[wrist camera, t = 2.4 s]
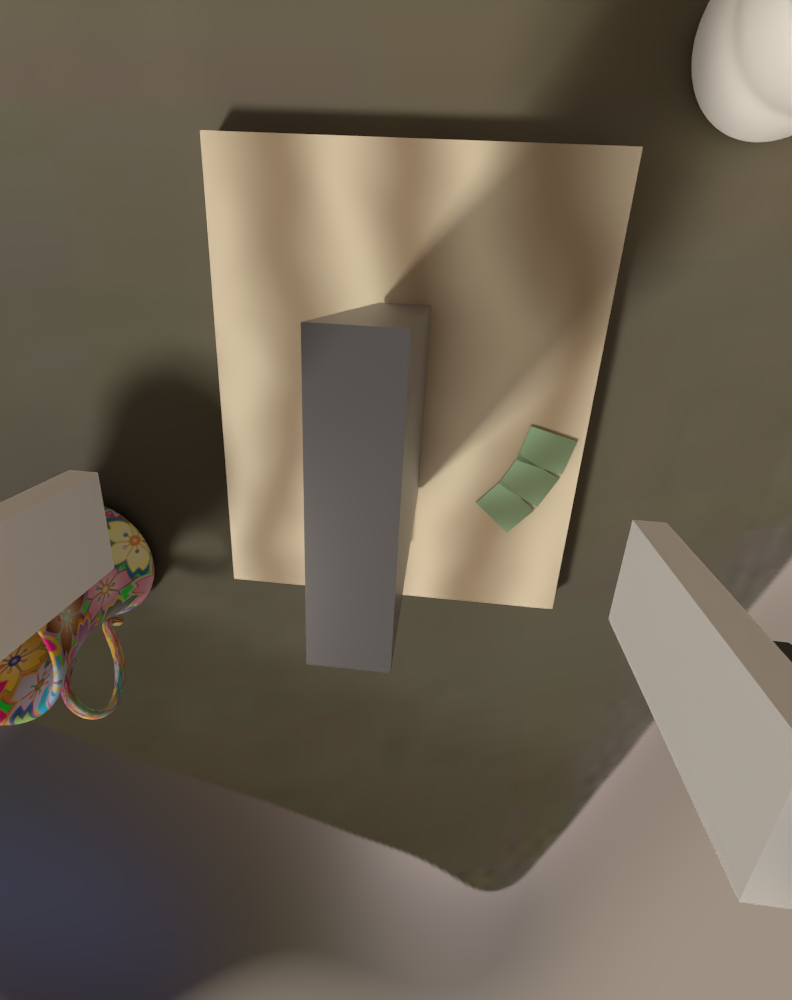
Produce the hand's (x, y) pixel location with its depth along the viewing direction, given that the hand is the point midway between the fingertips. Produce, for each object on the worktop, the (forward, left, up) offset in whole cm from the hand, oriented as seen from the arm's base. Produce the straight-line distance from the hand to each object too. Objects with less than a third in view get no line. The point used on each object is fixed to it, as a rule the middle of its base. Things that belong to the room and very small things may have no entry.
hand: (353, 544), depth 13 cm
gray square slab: (0, -2, -16) cm, 16 cm away
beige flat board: (0, 0, -18) cm, 18 cm away
